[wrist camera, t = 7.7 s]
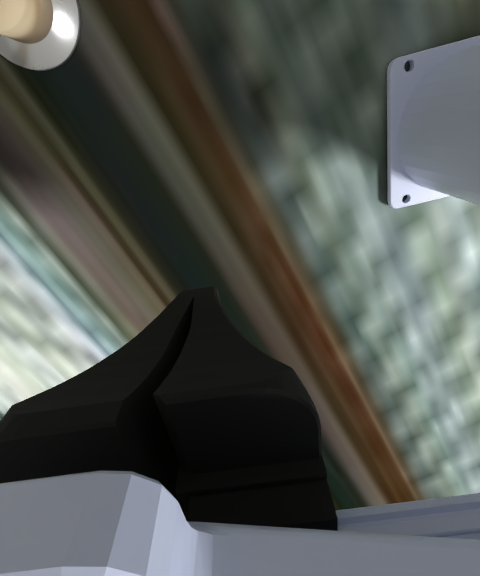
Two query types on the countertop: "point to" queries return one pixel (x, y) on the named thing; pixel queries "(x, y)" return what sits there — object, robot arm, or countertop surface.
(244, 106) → the countertop surface
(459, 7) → the countertop surface
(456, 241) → the countertop surface
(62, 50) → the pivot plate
